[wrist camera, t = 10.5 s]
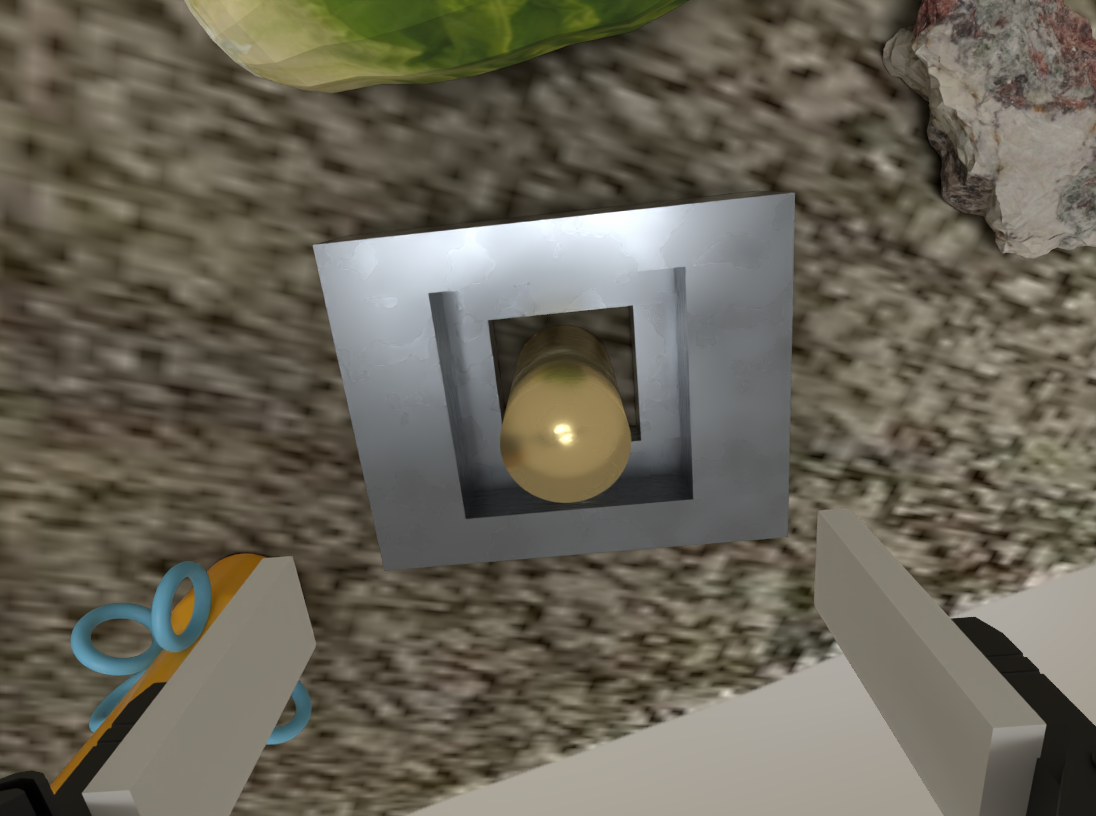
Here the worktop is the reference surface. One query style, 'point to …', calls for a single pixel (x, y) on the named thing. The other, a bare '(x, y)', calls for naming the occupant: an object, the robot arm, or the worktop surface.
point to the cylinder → (168, 643)
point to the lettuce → (405, 36)
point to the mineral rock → (1009, 114)
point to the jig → (555, 287)
